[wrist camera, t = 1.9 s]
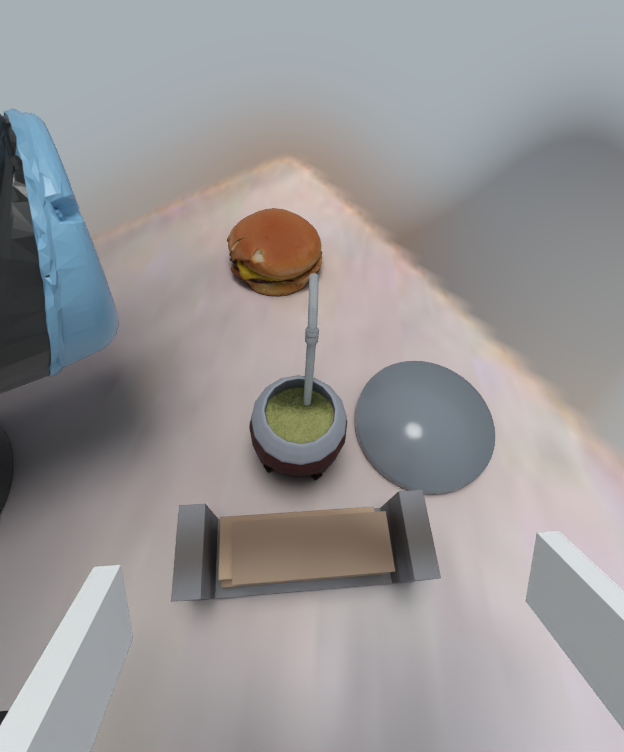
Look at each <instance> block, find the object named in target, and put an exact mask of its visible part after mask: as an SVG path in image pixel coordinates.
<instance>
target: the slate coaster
mask: <svg viewBox="0 0 624 752" xmlns="http://www.w3.org/2000/svg"><path fill="white" fill-rule="evenodd" d="M355 430H356V436H357V439H358V442H359V445H360V447H361V449H362V451H363V453H364V455H365V456H366V458H367V460H368V461H369V462H370V464H371V465H372V466H373V467H374V468H375V469H376V470H377V471H378V472H379V473H380V474H381V475H382V476H383V477H385V478H386V479H387V480H389V481H390V482H392V483H394V484H395V485H397V486H399V487H401V488H404V489H406V490H409V491H411V490H423V494H433V495H434V494H444V493H448V492H452V491H455V490H457V489H460V488H461V487H463V486H465V485H466V484H468V483H470V482H471V481H473V480H474V479H475V478H477V477H478V476H479V475H480V474H481V473H482V472H483V471H484V469H485V468H486V466H487V465H488V463H489V461H490V459H491V457H492V454H493V450H494V446H495V428H494V423H493V419H492V416H491V413H490V411H489V409H488V407H487V404H486V403H485V401H484V400H483V398H482V396H481V395H480V394H479V393H478V391H477V390H476V389H475V388H474V387H473V386H472V385H471V384H470V383H469V382H468V381H466V380H465V379H464V378H463V377H461V376H460V375H458V374H457V373H455V372H453V371H451V370H450V369H448V368H445V367H443V366H440V365H437V364H433V363H429V362H423V361H406V362H400V363H397V364H393V365H390V366H388V367H386V368H384V369H382V370H381V371H379V372H378V373H377V374H375V375H374V376H373V377H372V378H371V379H370V380H369V382H368V383H367V384H366V386H365V387H364V389H363V391H362V393H361V395H360V398H359V400H358V403H357V407H356V411H355Z"/></svg>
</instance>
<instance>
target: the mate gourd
mask: <svg viewBox="0 0 624 752" xmlns="http://www.w3.org/2000/svg"><path fill="white" fill-rule="evenodd" d="M318 283H319V275H318V274H315V273H313V274H310V276H309V310H308V327H307V328H306V331H305V334H306V335H305V342H306V343H307V350H306V367H305V376H299V375H297V376H292V377H286V378H281V379H279V380H278V381H276V382H274V383H273V384H271V385H269V386H268V387H266V388H265V389H264V391H263V392H262V393H261V395H260V396H259V397H258V399H257V400H256V401H255V405H254V409H253V413H252V417H251V421H250V433H251V438H252V443H253V447H254V449H255V451H256V453H257V455H258V457H259V459H260V461H261V463H262V464H263V467H264V468H265V469H266V471H267V472H271V471H273V470H276V471H278V472H279V473H281V474H287V475H293V476H299V477H301V476H305V475H310V476H311V477H312V478H313V479H314V480H317V479H318V478H319V477H321V476H322V473H323V472H325V471H326V469H327V468H328V467H329V466H330V465H331V464H332V462H333V461H334V460H335V459H336V457H337V455H338V453H339V452H340V450H341V448H342V446H343V445H344V443H345V437H346V428H347V419H346V418H347V416H346V413H345V409H344V406H343V403H342V400H341V399H340V398H339V396H338V395H337V394H336V393H335V392H334V390H333V389H332V388H331V387H330V386H329V385H327V384H325V383H323V382H321V381H319V380H318V379H316V378H313V373H314V360H315V348H316V344H317V342H318V335H319V329H318V328H317V316H318Z"/></svg>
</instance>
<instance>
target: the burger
mask: <svg viewBox="0 0 624 752" xmlns="http://www.w3.org/2000/svg"><path fill="white" fill-rule="evenodd" d="M227 241H228V243H229V244H228V247H229V251H231V252H230V254H229V255H230V256H231V259H230V260H231V261H232V262H233V263H234V265H232V267H231V270H232V272H233V273H234V274H235V275H237V276H238V277H239V278H240V279H242V280H244V281H246V282H247V283H249V285H250V287H251V288H252V289H253V290H254V291H256V292H258V293H260V294H264V295H269V296H280V295H288V294H291V293H294V292H296V291H298V290H300V289H302V288H303V287H304V286H305V285H306V283H307V282H308V280H309V276H310V274H313V273H315V274H316V273H317V272H318V271H319V269H320V268H321V263H322V251H321V241H320V237H319V235H318V233H317V231H316V229H315V228H314V227H313V226H312V225H311V224H310V223H309V222H308V221H307V220H305V219H304V218H302V217H301V216H299V215H296V214H294V213H292V212H289V211H287V210H284V209H276V208H272V209H265V210H261V211H258V212H256V213H254V214H252V215H249V216H247V217H246V218H244V219H243V220H241V221H240V222H239V223H238V224H237V225H236V226H235V227H234V228H233V229H232V231H231V232H230V234H229V236H228V238H227Z"/></svg>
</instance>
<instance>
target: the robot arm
mask: <svg viewBox="0 0 624 752" xmlns="http://www.w3.org/2000/svg"><path fill="white" fill-rule="evenodd" d="M118 324H119V322H118V315H117V311H116V307H115V304H114V301H113V298H112V295H111V292H110V289H109V286H108V283H107V280H106V277H105V274H104V272H103V269H102V266H101V263H100V261H99V258H98V255H97V252H96V250H95V247H94V244H93V242H92V239H91V237H90V234H89V231H88V229H87V227H86V224H85V222H84V219H83V217H82V216H81V214H80V211H79V206H78V204H77V201H76V199H75V196H74V194H73V191H72V188H71V185H70V182H69V179H68V177H67V174H66V171H65V169H64V166H63V164H62V161H61V159H60V156H59V154H58V151H57V149H56V147H55V144H54V142H53V140H52V137H51V135H50V133H49V131H48V129H47V127H46V125H45V123H44V122H43V121H42V119H41V118H39V117H38V116H36V115H35V114H32V113H21V112H19V111H18V110H15V109H10V110H7V111H4V116H1V114H0V394H1V393H3V392H6V391H9V390H11V389H14V388H17V387H19V386H22V385H25V384H27V383H30V382H32V381H35V380H38V379H40V378H43V377H46V376H48V375H49V376H53V375H55V374H57V373H59V372H60V371H61V369H62V368H63V367H65V366H68V365H70V364H72V363H74V362H76V361H79V360H81V359H83V358H85V357H87V356H90V355H92V354H94V353H96V352H98V351H100V350H102V349H104V348H105V347H106V346H107V345H108V344H110V342H111V341H112V339H113V338H114V337H115V335H116V333H117V329H118ZM12 472H13V456H12V450H11V446H10V443H9V440H8V438H7V436H6V434H5V432H4V431H3V429H2V428H1V427H0V511H1V509H2V507H3V505H4V502H5V500H6V497H7V494H8V492H9V488H10V484H11V479H12ZM526 602H527V603H528V605H529V606H530V607H531V609H532V610H533V611H534V613H535V614H536V615H537V617H538V618H539V619H540V620H541V622H542V623H543V624H544V626H545V627H546V628H547V630H548V631H549V632H550V634H551V635H552V636H553V638H554V639H555V640H556V642H557V643H558V644H559V646H560V647H561V648H562V650H563V651H564V652H565V654H566V655H567V656H568V658H569V659H570V660H571V661H572V663H573V664H574V665H575V667H576V668H577V669H578V671H579V672H580V673H581V675H582V676H583V677H584V679H585V680H586V681H587V683H588V684H589V685H590V687H591V688H592V689H593V691H594V692H595V693H596V695H597V696H598V697H599V699H600V700H601V701H602V702H603V704H604V705H605V706H606V708H607V709H608V710H609V712H610V713H611V714H612V716H613V717H614V718H615V720H616V721H617V722H618V724H619V725H620V726H621V728H622V729H623V730H624V591H623V590H622V589H621V588H620V587H619V586H618V585H617V584H616V583H614V582H613V581H612V580H611V579H610V578H609V577H608V576H607V575H606V574H605V573H604V572H603V571H602V570H600V569H599V568H598V567H597V566H596V565H595V564H594V563H593V562H592V561H591V560H590V559H589V558H587V557H586V556H585V555H584V554H583V553H582V552H581V551H580V550H579V549H578V548H577V547H576V546H575V545H573V544H572V543H571V542H570V541H569V540H568V539H567V538H566V537H565V536H564V535H563V534H562V533H560V532H559V531H551V532H538V533H537V535H536V541H535V547H534V553H533V559H532V565H531V571H530V577H529V583H528V589H527V596H526ZM132 639H133V634H132V628H131V622H130V616H129V610H128V605H127V599H126V593H125V587H124V581H123V575H122V569H121V565H112V566H99V567H94V568H93V569H92V571H91V573H90V574H89V576H88V578H87V579H86V581H85V583H84V584H83V586H82V588H81V590H80V591H79V593H78V595H77V596H76V598H75V600H74V601H73V603H72V605H71V606H70V608H69V610H68V612H67V613H66V615H65V617H64V618H63V620H62V622H61V623H60V625H59V627H58V629H57V630H56V632H55V634H54V635H53V637H52V639H51V640H50V642H49V644H48V645H47V647H46V649H45V651H44V652H43V654H42V656H41V657H40V659H39V661H38V662H37V664H36V666H35V667H34V669H33V671H32V673H31V674H30V676H29V678H28V679H27V681H26V683H25V684H24V686H23V688H22V690H21V691H20V693H19V695H18V696H17V698H16V700H15V701H14V703H13V705H12V706H11V708H10V710H9V711H1V712H0V752H91V749H92V746H93V744H94V741H95V738H96V736H97V733H98V730H99V728H100V725H101V722H102V720H103V717H104V714H105V711H106V709H107V706H108V703H109V701H110V698H111V695H112V693H113V690H114V687H115V685H116V682H117V679H118V677H119V674H120V671H121V669H122V666H123V663H124V661H125V658H126V655H127V652H128V650H129V647H130V644H131V642H132Z"/></svg>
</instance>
